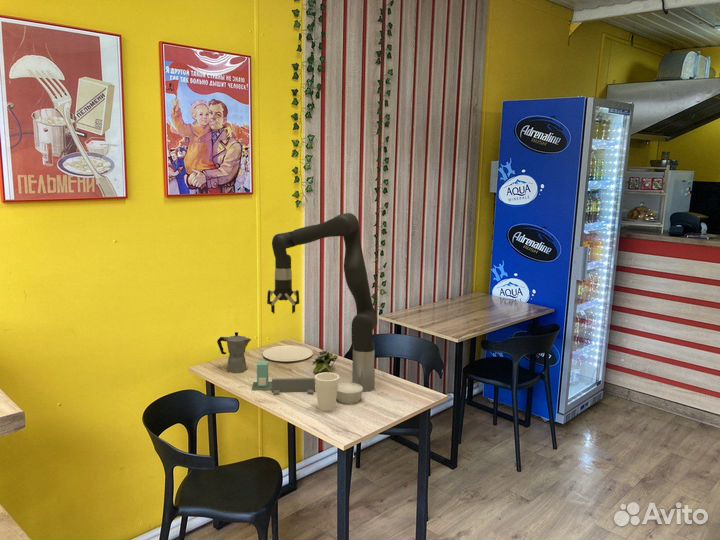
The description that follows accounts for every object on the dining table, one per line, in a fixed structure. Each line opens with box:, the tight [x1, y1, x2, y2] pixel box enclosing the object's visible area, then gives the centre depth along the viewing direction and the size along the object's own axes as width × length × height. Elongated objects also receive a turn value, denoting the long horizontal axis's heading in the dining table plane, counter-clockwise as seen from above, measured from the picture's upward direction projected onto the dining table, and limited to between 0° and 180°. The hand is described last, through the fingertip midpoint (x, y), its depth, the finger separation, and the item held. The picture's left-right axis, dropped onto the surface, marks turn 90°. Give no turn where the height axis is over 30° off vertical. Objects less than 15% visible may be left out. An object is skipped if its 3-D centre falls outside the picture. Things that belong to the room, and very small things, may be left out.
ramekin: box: [336, 382, 363, 405], centre depth 228 cm, size 11×11×5 cm
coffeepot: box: [216, 331, 252, 374], centre depth 257 cm, size 15×9×18 cm, turn 91°
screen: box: [271, 377, 316, 396], centre depth 233 cm, size 18×4×6 cm, turn 96°
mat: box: [251, 381, 272, 392], centre depth 239 cm, size 9×9×1 cm
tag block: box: [256, 360, 269, 388], centre depth 238 cm, size 4×5×10 cm
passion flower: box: [311, 350, 338, 374], centre depth 259 cm, size 11×11×12 cm
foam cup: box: [314, 371, 340, 413], centre depth 218 cm, size 10×9×13 cm
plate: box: [262, 345, 314, 363], centre depth 281 cm, size 25×25×2 cm
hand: (283, 313), depth 252 cm, fingers open, 8 cm apart
